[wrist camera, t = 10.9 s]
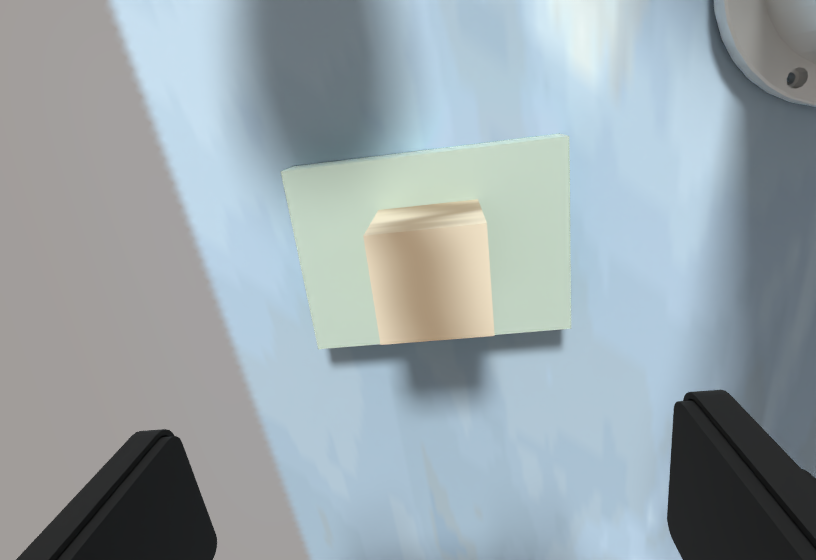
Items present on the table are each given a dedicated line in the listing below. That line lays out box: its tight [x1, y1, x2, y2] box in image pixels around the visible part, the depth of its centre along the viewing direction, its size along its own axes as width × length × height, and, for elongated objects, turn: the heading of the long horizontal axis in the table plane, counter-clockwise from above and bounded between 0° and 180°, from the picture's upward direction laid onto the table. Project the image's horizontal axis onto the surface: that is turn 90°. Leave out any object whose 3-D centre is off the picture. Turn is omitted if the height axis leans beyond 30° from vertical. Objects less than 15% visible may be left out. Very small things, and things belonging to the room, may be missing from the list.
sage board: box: [281, 134, 571, 349], centre depth 26 cm, size 14×10×2 cm
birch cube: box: [363, 199, 495, 345], centre depth 22 cm, size 5×5×5 cm
